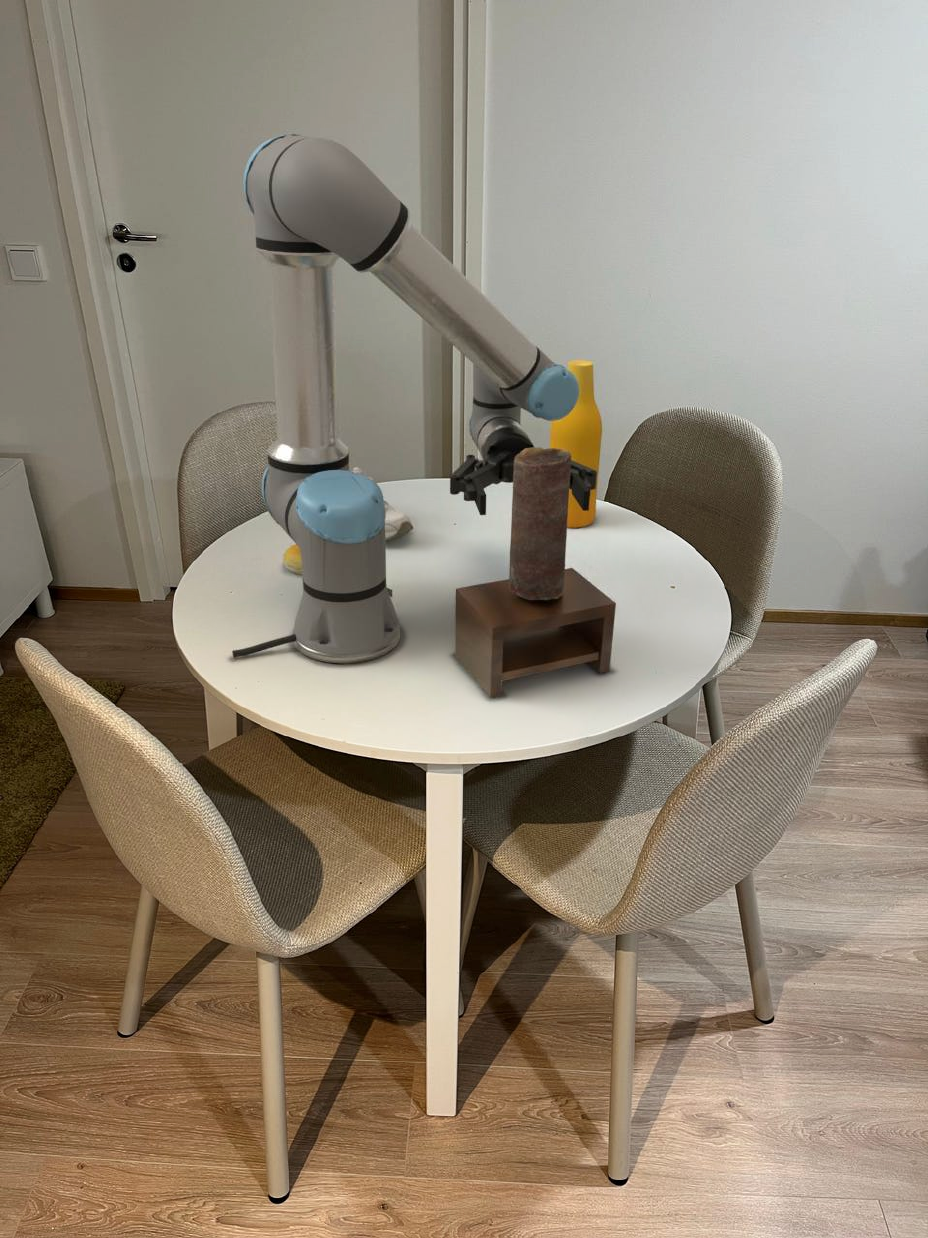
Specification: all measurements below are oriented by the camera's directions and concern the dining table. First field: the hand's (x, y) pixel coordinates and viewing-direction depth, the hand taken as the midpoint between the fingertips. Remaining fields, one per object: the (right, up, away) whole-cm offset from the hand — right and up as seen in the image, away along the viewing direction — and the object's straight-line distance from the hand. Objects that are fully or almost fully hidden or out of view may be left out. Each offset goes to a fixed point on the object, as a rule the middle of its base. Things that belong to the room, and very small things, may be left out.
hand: (535, 503), depth 126 cm
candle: (0, -12, +5) cm, 13 cm away
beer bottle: (+11, +4, +56) cm, 58 cm away
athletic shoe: (-27, +1, +51) cm, 58 cm away
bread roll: (-35, -6, +37) cm, 51 cm away
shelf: (0, -21, +9) cm, 23 cm away
